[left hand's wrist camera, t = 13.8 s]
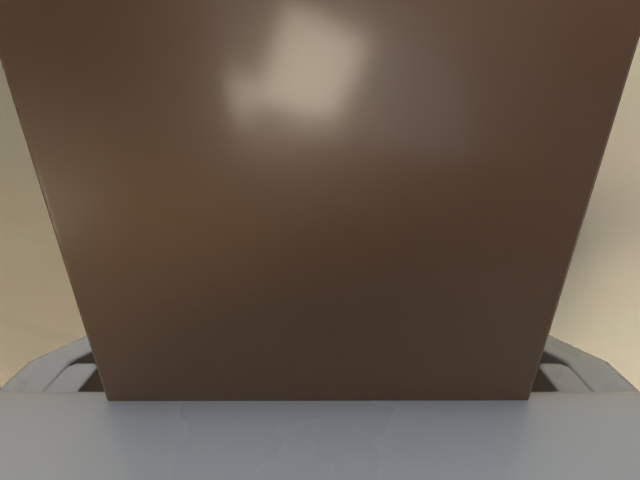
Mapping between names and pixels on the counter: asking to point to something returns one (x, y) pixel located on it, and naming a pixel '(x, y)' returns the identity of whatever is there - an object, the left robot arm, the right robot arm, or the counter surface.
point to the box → (317, 185)
